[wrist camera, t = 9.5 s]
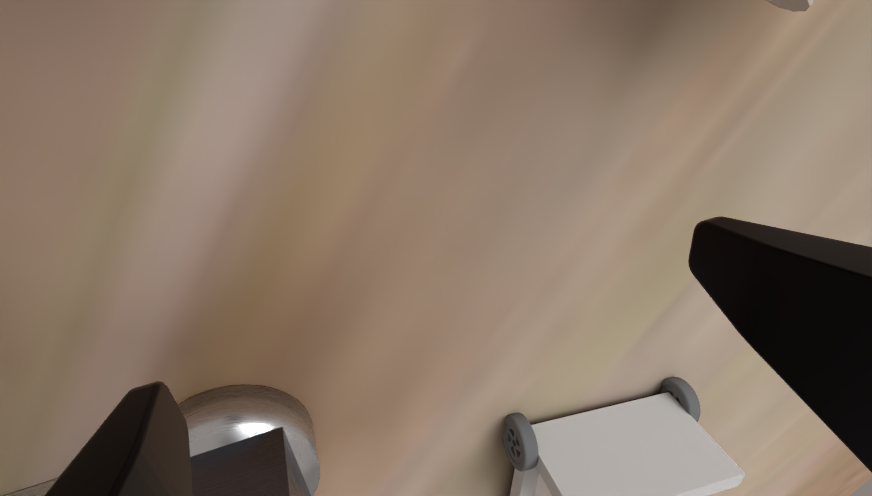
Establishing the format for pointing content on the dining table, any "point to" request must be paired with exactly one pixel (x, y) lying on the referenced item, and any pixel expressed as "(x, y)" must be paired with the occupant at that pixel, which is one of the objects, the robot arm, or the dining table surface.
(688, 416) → the toy car
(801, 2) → the pipe connector
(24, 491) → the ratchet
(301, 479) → the dark grey block
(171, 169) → the dining table surface
